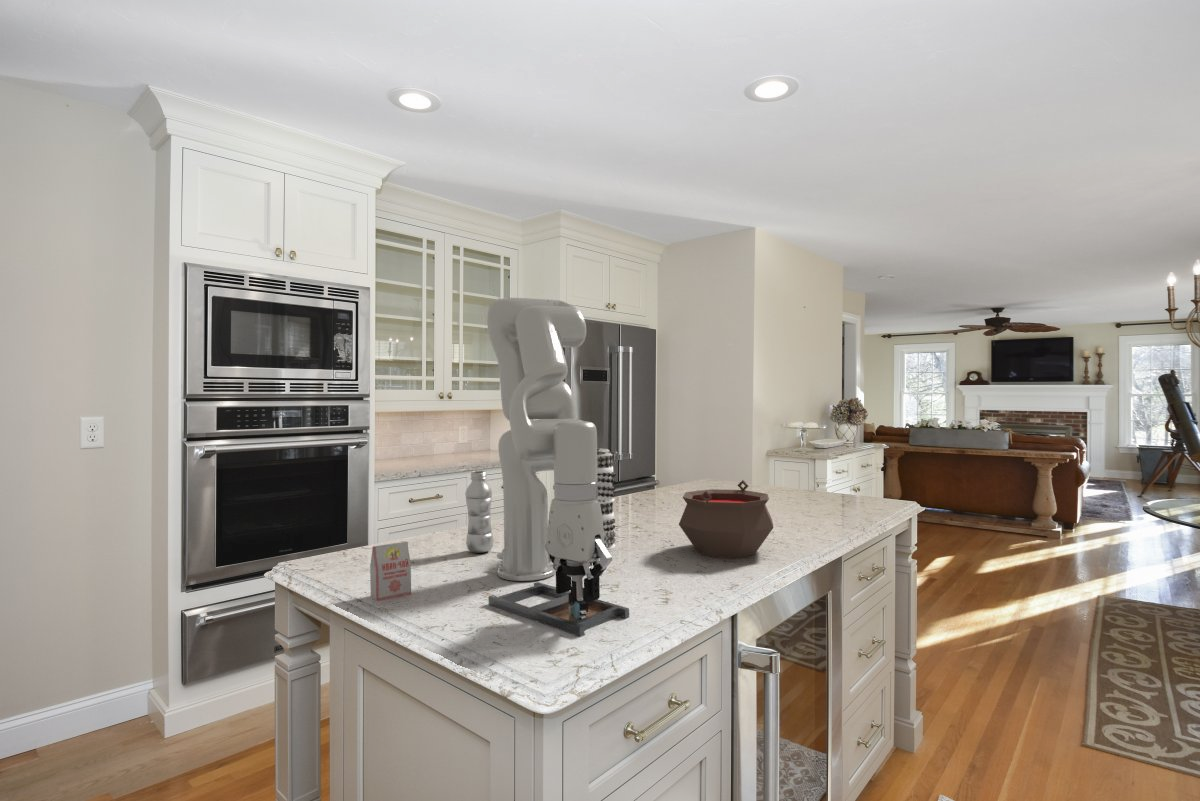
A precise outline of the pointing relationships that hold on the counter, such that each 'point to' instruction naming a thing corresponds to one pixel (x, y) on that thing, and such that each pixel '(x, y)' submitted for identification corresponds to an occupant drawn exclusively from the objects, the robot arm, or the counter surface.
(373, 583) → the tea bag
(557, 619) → the rail
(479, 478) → the plastic bottle
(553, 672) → the counter surface
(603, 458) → the decorative candle
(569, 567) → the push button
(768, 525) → the brown cauldron
